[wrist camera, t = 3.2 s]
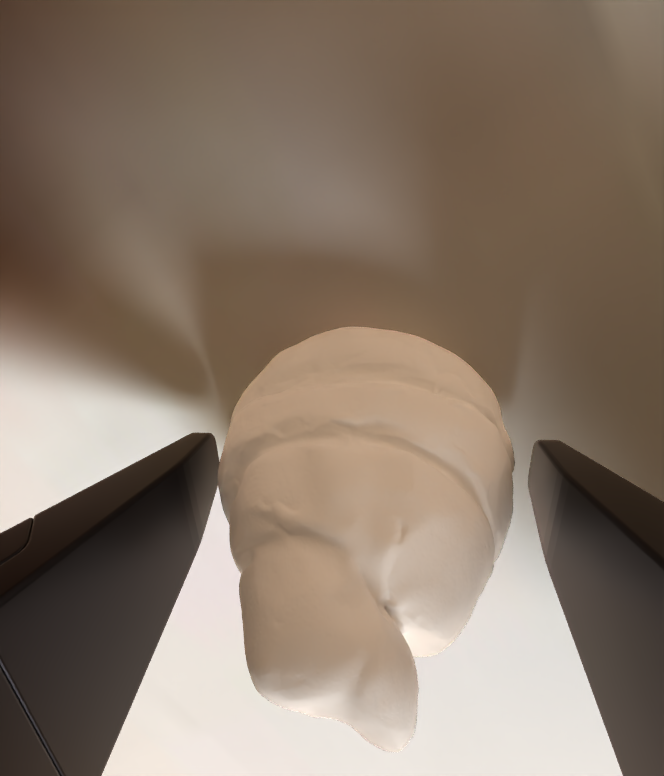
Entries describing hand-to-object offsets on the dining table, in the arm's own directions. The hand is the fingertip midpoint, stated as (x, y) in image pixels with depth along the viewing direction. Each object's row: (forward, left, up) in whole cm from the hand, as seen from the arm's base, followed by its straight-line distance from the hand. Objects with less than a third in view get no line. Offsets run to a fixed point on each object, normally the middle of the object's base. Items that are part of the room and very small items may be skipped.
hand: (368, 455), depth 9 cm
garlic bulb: (0, 0, -2) cm, 2 cm away
